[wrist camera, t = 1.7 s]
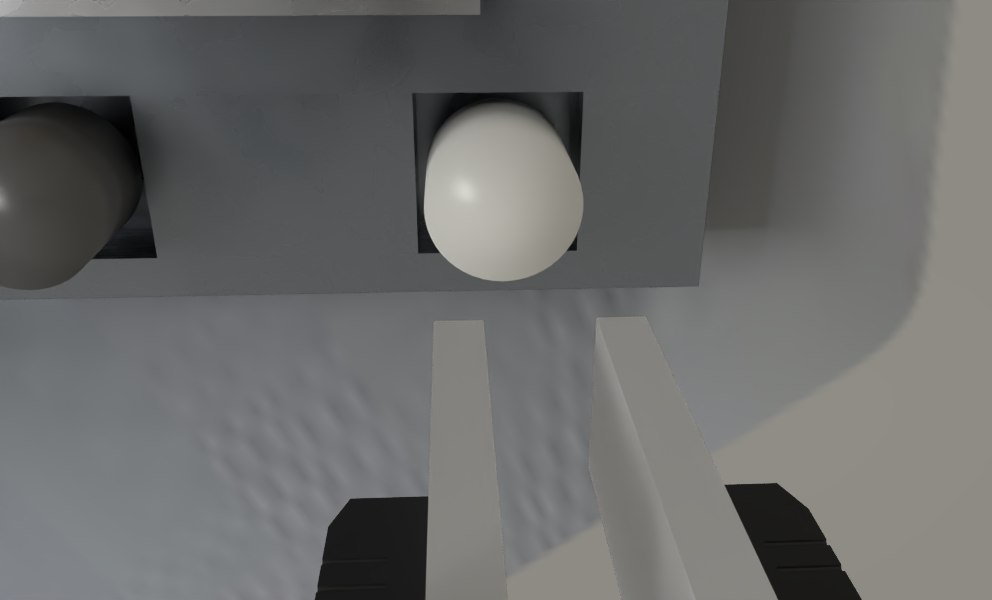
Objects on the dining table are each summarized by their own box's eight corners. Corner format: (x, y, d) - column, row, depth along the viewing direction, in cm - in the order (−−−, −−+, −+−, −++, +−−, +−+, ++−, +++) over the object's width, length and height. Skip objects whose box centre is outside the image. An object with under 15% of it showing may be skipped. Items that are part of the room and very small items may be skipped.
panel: (-52, 245, 30) (-149, 314, 25) (-186, -247, 24) (-348, -282, 19) (665, 233, 31) (705, 297, 26) (705, -240, 25) (768, -271, 20)
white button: (429, 235, 26) (426, 282, 23) (424, 98, 25) (421, 129, 21) (564, 232, 26) (579, 279, 23) (568, 97, 25) (586, 127, 22)
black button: (10, 242, 26) (-51, 291, 22) (-23, 103, 24) (-95, 135, 21) (152, 239, 26) (111, 288, 23) (128, 101, 24) (81, 133, 21)
